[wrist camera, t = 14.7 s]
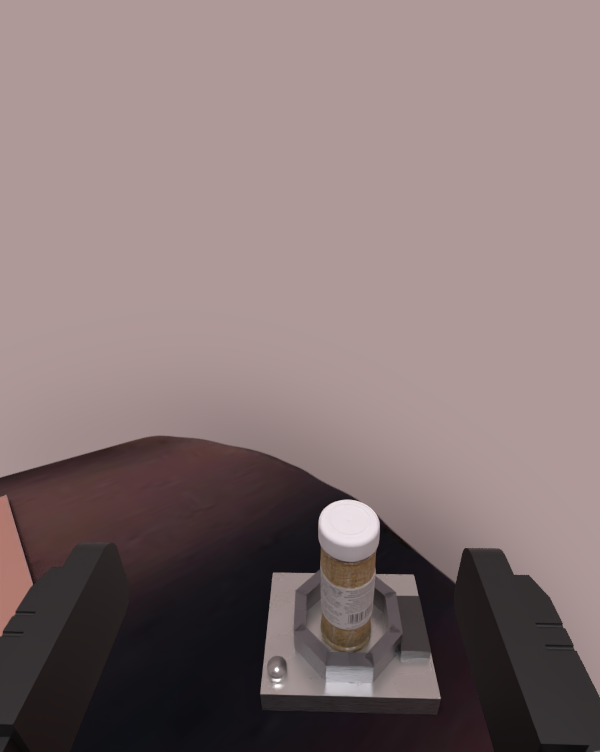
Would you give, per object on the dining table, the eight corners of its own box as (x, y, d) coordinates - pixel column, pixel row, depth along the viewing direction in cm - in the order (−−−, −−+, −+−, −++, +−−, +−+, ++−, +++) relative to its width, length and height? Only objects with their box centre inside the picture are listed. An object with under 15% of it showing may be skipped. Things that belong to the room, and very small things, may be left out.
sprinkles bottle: (360, 600, 42) (367, 492, 35) (379, 648, 38) (390, 536, 31) (313, 611, 41) (311, 503, 34) (327, 661, 37) (328, 549, 30)
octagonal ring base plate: (262, 709, 36) (258, 677, 34) (274, 588, 46) (271, 556, 43) (437, 714, 35) (444, 681, 33) (411, 590, 45) (416, 558, 43)
